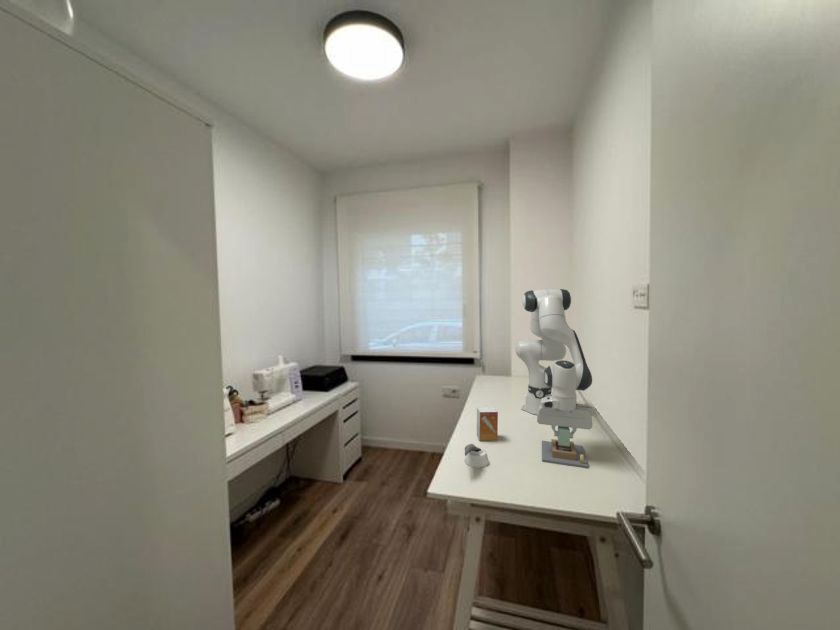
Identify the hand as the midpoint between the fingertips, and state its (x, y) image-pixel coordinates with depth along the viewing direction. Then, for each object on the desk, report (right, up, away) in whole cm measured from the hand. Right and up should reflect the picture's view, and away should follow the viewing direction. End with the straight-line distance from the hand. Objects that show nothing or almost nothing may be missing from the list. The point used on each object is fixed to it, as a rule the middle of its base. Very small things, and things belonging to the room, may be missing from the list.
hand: (563, 436), depth 136 cm
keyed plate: (0, -7, +1) cm, 7 cm away
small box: (-27, -7, +16) cm, 32 cm away
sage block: (0, -2, 0) cm, 2 cm away
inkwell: (-37, -8, -9) cm, 39 cm away
